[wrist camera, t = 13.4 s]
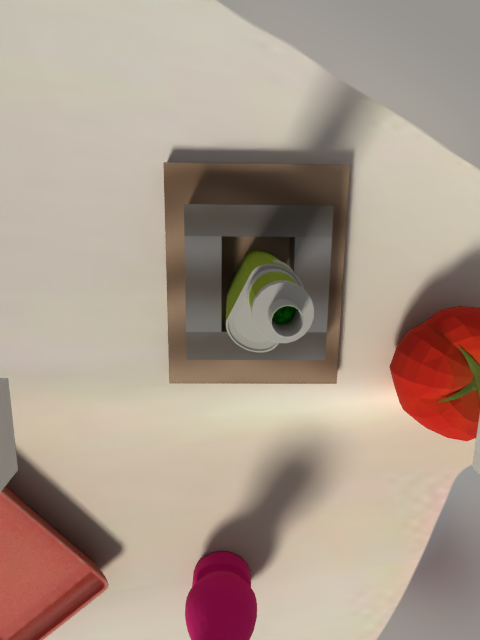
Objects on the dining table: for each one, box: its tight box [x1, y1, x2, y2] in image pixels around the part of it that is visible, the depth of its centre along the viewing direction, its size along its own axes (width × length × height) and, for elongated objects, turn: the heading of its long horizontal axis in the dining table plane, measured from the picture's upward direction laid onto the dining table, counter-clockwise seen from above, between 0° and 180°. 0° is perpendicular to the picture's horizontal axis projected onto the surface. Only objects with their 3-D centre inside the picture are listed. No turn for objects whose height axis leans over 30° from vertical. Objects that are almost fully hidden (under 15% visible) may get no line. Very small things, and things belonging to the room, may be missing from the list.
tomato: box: [390, 306, 480, 441], centre depth 41 cm, size 13×12×8 cm
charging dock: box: [164, 162, 350, 384], centre depth 40 cm, size 20×16×5 cm
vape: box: [226, 249, 314, 352], centre depth 31 cm, size 4×6×20 cm, turn 153°
